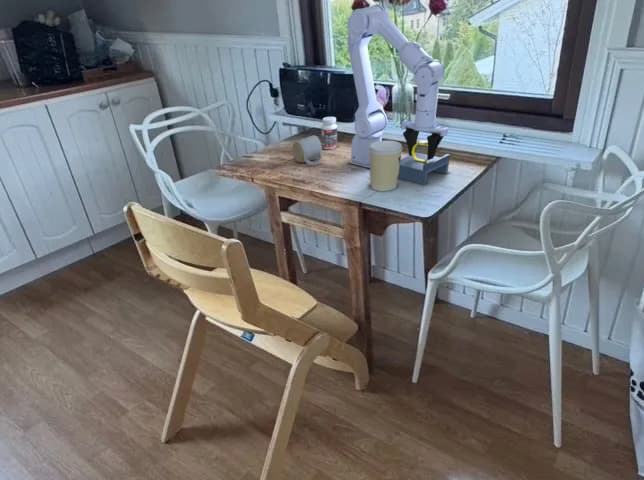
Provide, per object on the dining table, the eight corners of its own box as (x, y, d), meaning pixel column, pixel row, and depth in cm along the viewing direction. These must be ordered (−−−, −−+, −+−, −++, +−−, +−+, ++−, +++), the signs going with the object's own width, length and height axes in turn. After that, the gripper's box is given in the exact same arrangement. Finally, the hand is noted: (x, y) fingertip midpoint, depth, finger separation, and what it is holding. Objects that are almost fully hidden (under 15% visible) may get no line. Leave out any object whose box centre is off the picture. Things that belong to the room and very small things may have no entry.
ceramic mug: (291, 160, 181) (290, 138, 176) (311, 154, 183) (310, 132, 178) (307, 168, 173) (307, 145, 168) (327, 163, 176) (327, 140, 171)
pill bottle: (326, 150, 186) (325, 121, 180) (318, 146, 190) (318, 118, 184) (340, 147, 187) (340, 118, 181) (332, 143, 191) (332, 115, 185)
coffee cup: (405, 187, 153) (408, 146, 145) (376, 194, 151) (378, 152, 144) (390, 177, 160) (392, 138, 152) (362, 183, 158) (363, 143, 151)
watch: (409, 161, 158) (411, 141, 155) (413, 158, 160) (415, 138, 156) (427, 164, 155) (430, 143, 151) (432, 161, 157) (434, 141, 153)
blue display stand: (391, 175, 161) (392, 158, 158) (415, 164, 167) (416, 147, 163) (424, 184, 153) (426, 166, 150) (447, 172, 159) (450, 154, 156)
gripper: (456, 109, 146) (449, 157, 154) (413, 102, 155) (409, 148, 163) (441, 115, 142) (435, 164, 151) (398, 108, 151) (395, 155, 160)
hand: (421, 156), depth 157 cm, fingers closed on watch, 6 cm apart
